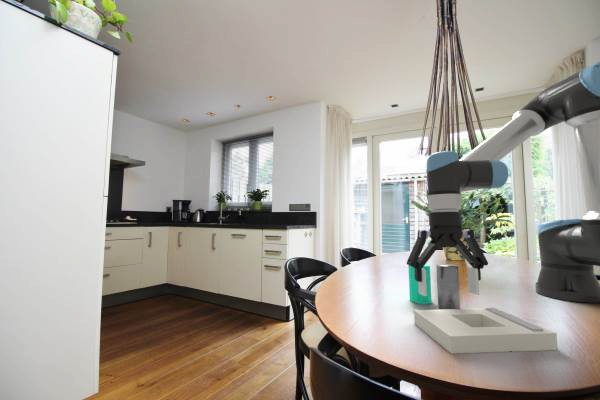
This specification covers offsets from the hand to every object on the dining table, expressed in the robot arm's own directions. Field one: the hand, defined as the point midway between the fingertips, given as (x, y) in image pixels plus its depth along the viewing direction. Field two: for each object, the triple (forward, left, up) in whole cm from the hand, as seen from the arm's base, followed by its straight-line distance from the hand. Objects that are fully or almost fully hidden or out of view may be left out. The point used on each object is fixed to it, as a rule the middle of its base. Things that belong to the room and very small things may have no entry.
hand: (448, 294), depth 69 cm
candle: (+2, -11, -5) cm, 12 cm away
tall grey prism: (0, 0, -5) cm, 5 cm away
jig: (+2, +13, -5) cm, 14 cm away
